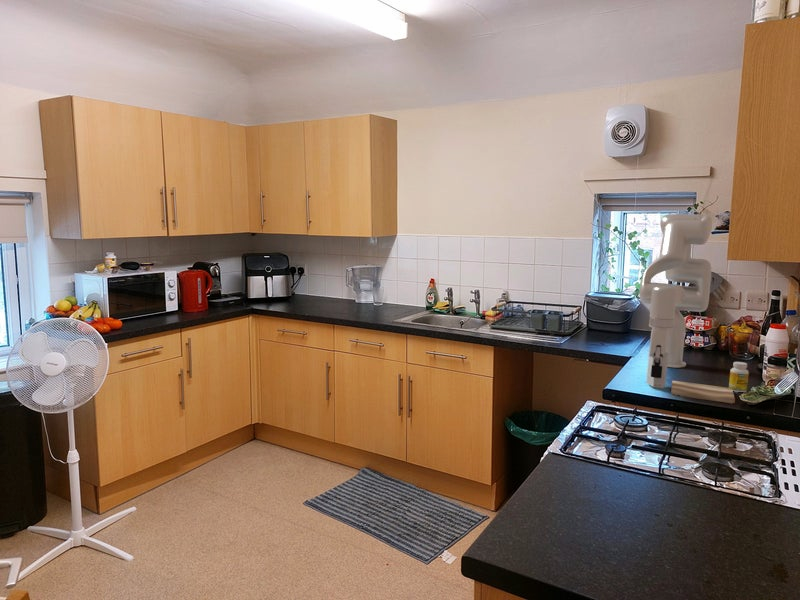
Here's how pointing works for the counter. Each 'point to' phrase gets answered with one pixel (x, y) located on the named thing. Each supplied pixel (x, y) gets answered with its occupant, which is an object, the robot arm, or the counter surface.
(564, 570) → the counter surface
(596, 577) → the counter surface
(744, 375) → the supplement bottle
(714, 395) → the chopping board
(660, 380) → the skincare box
